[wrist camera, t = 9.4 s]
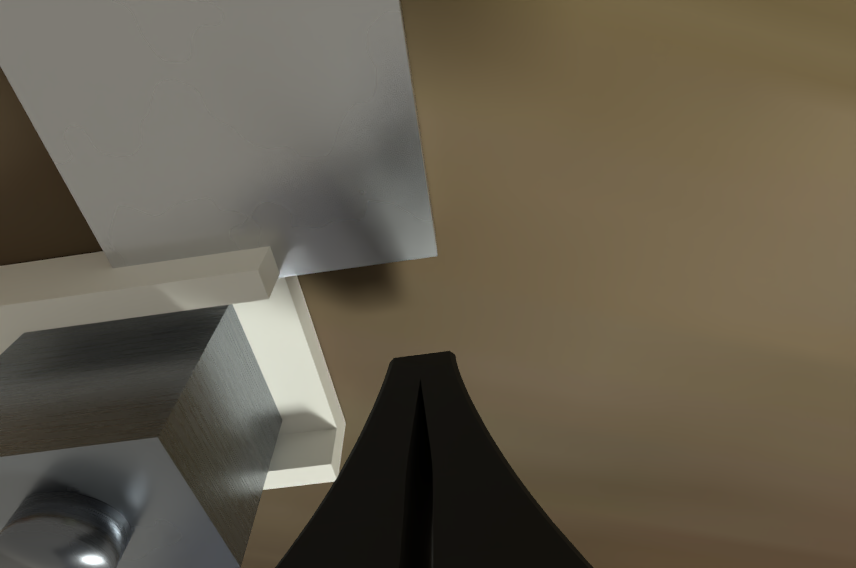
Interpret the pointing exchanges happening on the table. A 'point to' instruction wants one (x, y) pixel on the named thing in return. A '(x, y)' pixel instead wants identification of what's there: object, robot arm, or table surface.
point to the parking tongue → (229, 126)
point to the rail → (193, 289)
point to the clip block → (133, 443)
